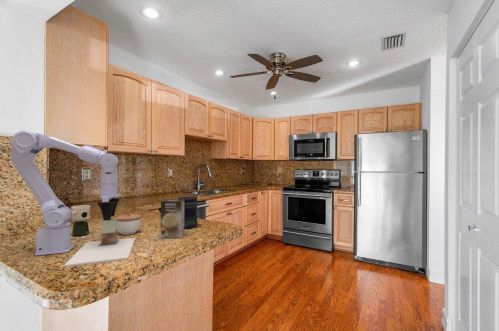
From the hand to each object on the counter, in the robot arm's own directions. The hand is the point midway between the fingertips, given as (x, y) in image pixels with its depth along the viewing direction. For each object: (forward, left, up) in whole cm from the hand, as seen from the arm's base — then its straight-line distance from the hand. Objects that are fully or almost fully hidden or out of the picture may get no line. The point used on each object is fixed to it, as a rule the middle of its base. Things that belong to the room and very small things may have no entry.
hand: (109, 218), depth 93 cm
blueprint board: (0, -8, -10) cm, 13 cm away
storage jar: (+32, +18, -11) cm, 38 cm away
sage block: (0, 0, -5) cm, 5 cm away
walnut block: (0, 0, -10) cm, 10 cm away
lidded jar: (+5, +16, -11) cm, 20 cm away
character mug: (-15, +21, -11) cm, 28 cm away
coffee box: (+24, +3, -11) cm, 26 cm away
